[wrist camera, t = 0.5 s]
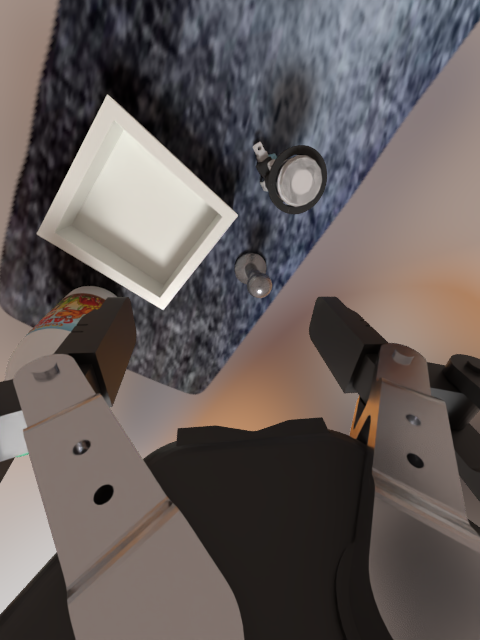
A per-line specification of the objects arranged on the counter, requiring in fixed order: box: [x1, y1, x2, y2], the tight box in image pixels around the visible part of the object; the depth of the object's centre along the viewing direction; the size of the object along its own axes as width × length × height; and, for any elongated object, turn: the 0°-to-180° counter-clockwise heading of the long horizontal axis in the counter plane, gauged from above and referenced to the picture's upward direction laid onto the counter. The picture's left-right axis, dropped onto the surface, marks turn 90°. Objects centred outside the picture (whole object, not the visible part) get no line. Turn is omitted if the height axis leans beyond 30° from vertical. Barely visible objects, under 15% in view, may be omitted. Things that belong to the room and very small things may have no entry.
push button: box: [253, 142, 327, 214], centre depth 25 cm, size 7×5×10 cm
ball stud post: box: [235, 253, 272, 298], centre depth 32 cm, size 4×4×8 cm
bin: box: [37, 94, 238, 310], centre depth 28 cm, size 14×14×5 cm
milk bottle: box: [5, 286, 117, 457], centre depth 26 cm, size 8×8×20 cm
